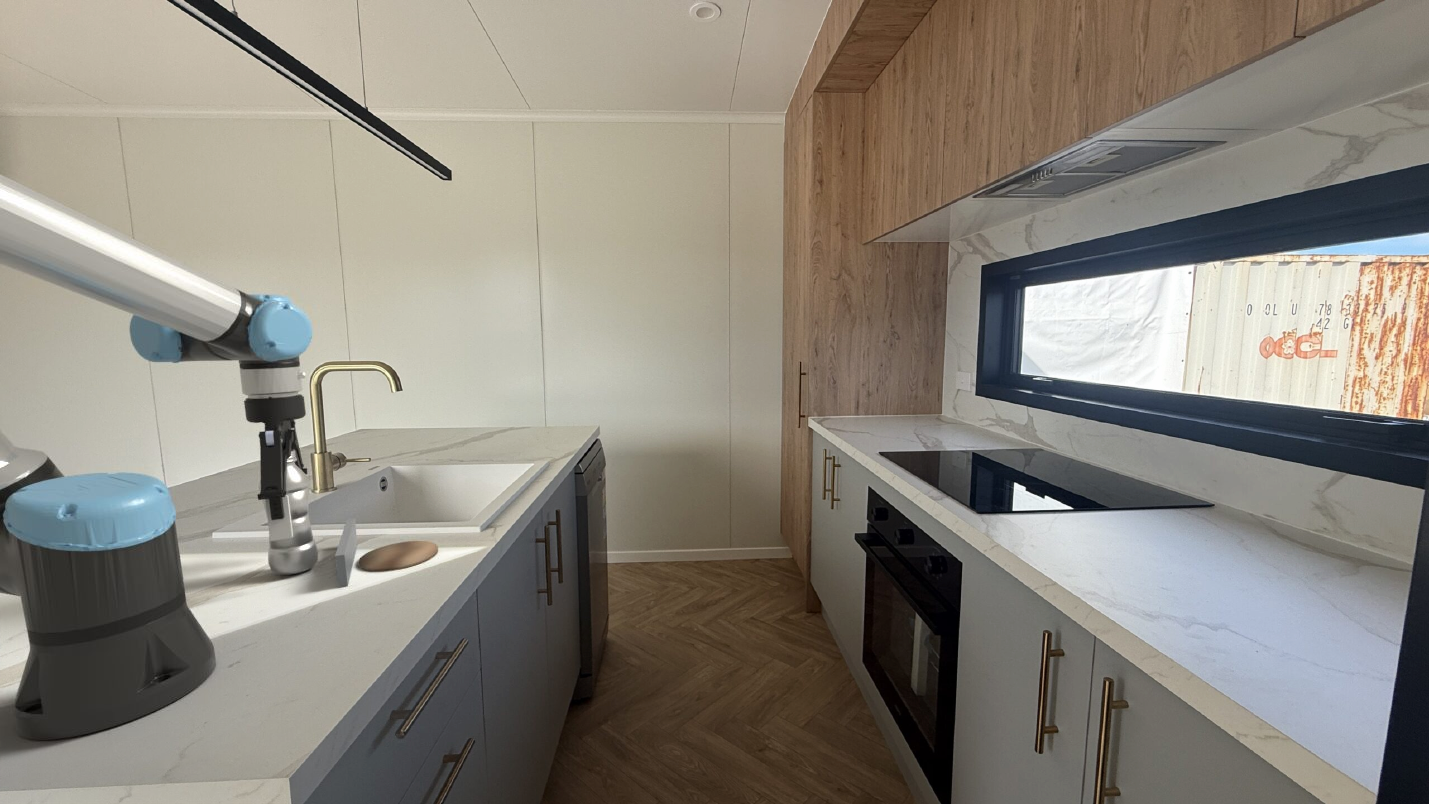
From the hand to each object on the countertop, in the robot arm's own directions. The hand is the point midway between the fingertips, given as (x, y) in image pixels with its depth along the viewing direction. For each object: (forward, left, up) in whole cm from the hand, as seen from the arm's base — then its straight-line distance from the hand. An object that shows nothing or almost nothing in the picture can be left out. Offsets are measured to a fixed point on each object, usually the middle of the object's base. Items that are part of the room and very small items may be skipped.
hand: (289, 525), depth 93 cm
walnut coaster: (+15, -2, -8) cm, 17 cm away
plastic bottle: (0, 0, -8) cm, 8 cm away
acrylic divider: (+7, -1, -8) cm, 11 cm away
